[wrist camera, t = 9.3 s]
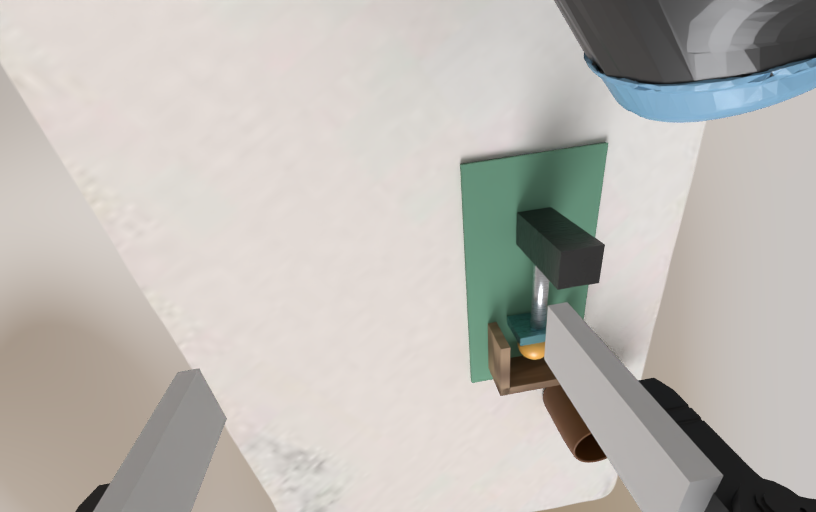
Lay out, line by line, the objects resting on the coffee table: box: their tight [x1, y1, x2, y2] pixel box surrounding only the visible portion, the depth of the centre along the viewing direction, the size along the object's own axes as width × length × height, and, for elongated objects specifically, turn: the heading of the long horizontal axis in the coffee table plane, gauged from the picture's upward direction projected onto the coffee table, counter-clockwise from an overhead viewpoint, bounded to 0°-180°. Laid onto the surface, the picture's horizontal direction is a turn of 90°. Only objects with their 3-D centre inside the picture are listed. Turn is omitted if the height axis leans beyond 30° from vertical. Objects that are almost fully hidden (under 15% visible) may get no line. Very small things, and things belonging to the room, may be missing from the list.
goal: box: [488, 322, 560, 396], centre depth 47 cm, size 8×11×5 cm
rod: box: [507, 207, 605, 346], centre depth 40 cm, size 16×6×10 cm, turn 7°
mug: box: [543, 385, 607, 462], centre depth 52 cm, size 12×8×9 cm, turn 96°
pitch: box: [460, 142, 608, 383], centre depth 45 cm, size 32×16×1 cm, turn 7°
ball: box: [517, 342, 545, 360], centre depth 47 cm, size 4×4×4 cm
